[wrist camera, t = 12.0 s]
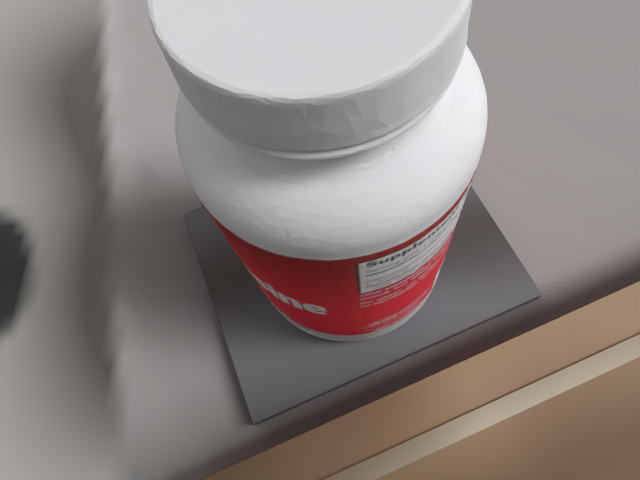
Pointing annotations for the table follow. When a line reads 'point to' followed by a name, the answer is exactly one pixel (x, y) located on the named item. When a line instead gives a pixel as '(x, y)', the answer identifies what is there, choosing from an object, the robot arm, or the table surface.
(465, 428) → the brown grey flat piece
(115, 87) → the table surface
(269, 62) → the pill bottle
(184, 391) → the table surface
